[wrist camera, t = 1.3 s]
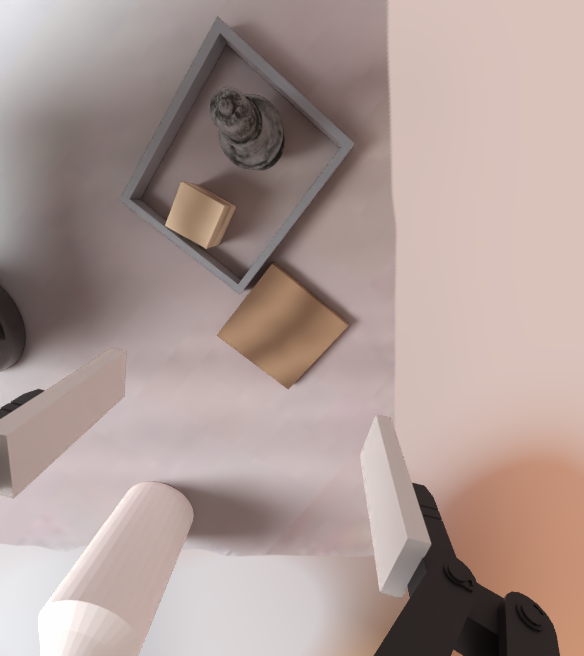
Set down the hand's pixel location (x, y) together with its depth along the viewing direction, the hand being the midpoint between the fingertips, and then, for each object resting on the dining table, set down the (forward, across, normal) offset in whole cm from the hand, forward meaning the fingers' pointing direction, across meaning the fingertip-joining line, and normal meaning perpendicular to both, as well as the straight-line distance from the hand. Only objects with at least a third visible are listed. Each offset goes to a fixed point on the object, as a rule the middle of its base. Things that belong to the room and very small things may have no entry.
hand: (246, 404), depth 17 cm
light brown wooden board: (+22, 0, -4) cm, 22 cm away
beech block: (+22, -10, +7) cm, 25 cm away
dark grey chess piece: (+22, -7, +15) cm, 28 cm away
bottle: (+22, -13, -39) cm, 47 cm away
